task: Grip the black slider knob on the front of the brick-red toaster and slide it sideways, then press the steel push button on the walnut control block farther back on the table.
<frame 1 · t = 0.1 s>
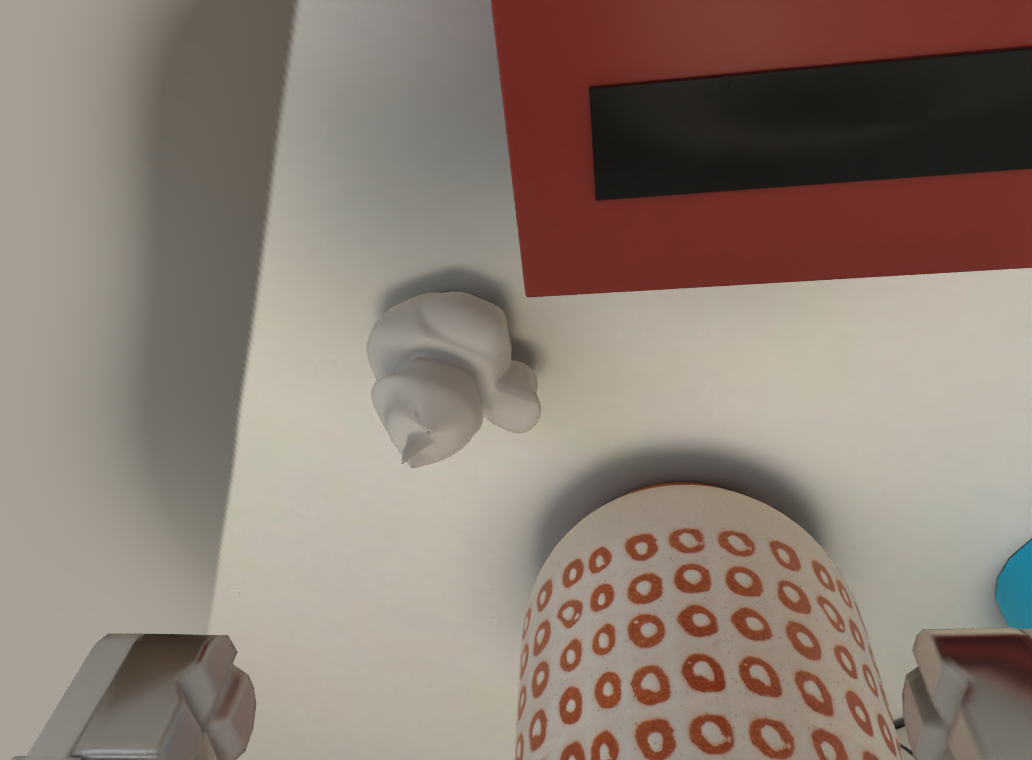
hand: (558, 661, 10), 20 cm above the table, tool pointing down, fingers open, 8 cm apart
rubber duck: (465, 333, 31), on the table
vase: (677, 549, 37), on the table
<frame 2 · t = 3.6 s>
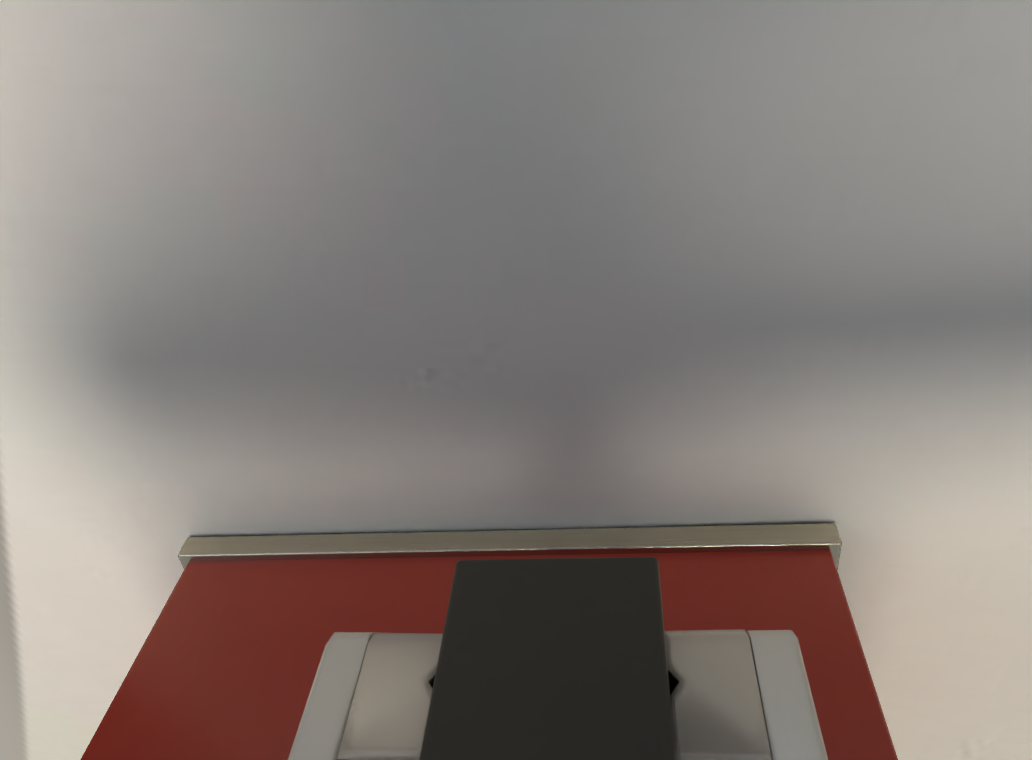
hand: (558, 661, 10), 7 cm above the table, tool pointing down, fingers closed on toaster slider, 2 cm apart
toaster: (520, 675, 21), on the table
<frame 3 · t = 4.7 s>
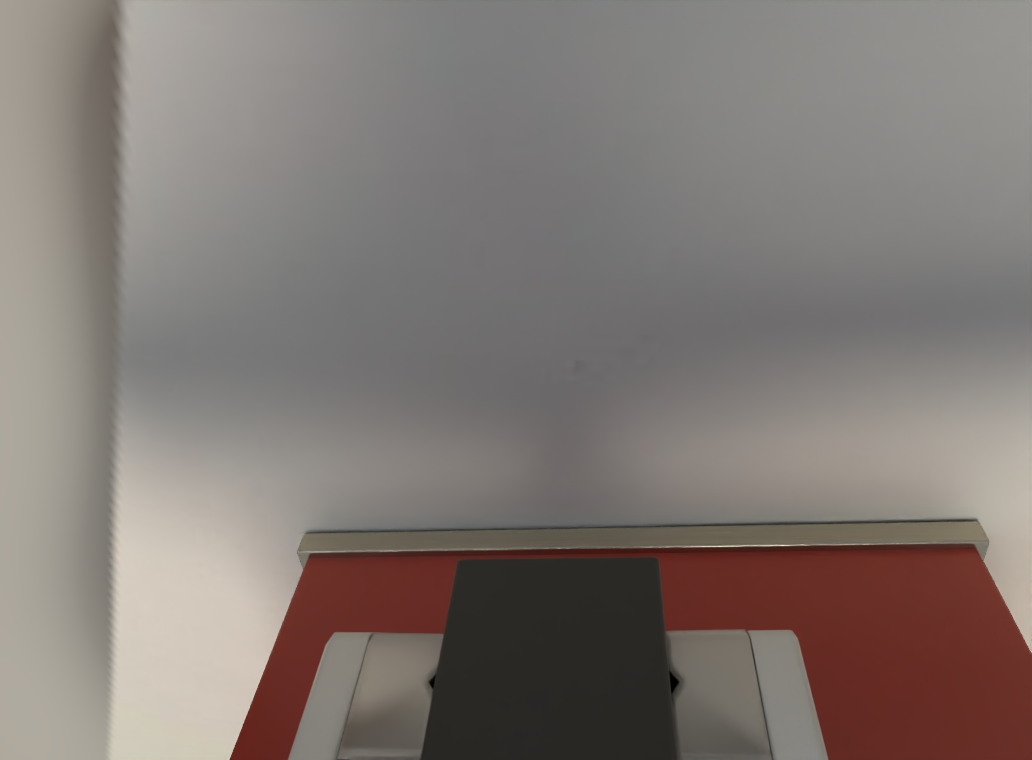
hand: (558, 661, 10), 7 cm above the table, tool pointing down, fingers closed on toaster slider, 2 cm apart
toaster: (630, 675, 20), on the table
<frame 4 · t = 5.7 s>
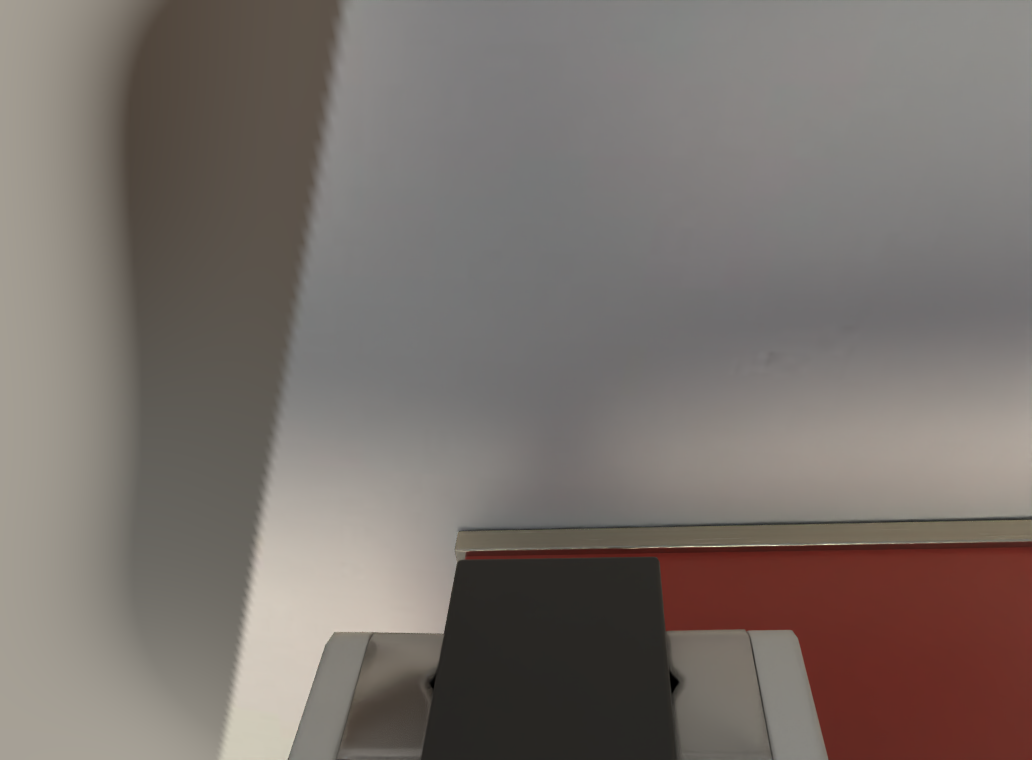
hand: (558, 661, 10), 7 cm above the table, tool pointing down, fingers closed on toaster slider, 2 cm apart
toaster: (776, 676, 20), on the table
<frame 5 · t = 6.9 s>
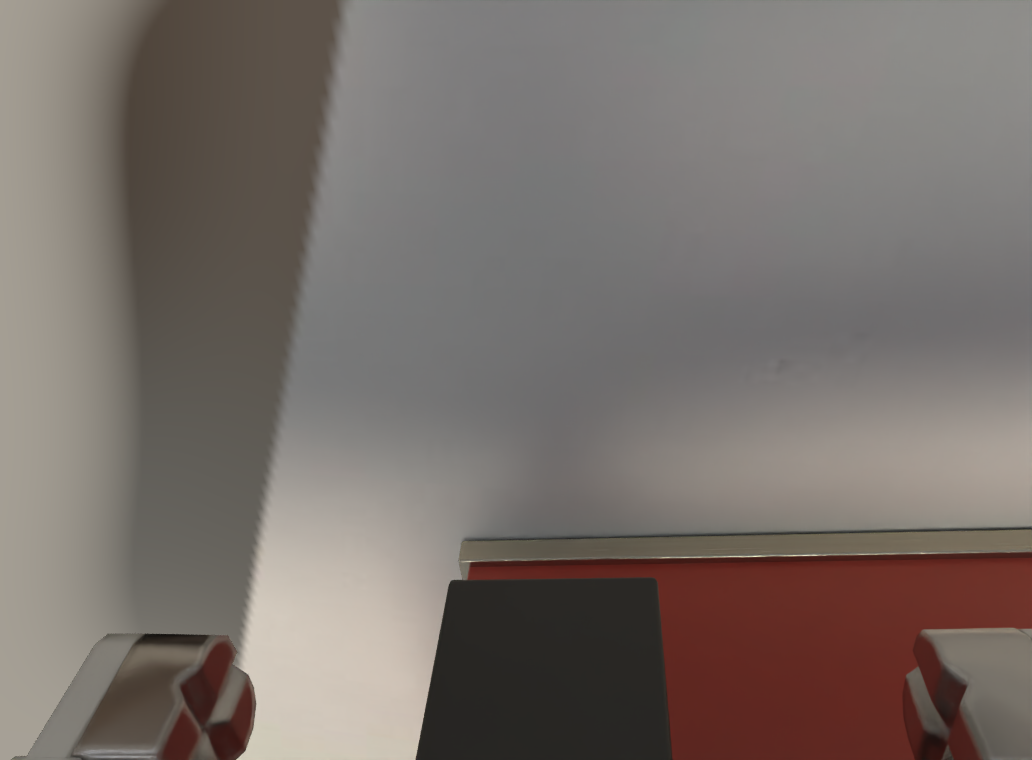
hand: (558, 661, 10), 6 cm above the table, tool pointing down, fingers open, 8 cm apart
toaster: (785, 686, 20), on the table
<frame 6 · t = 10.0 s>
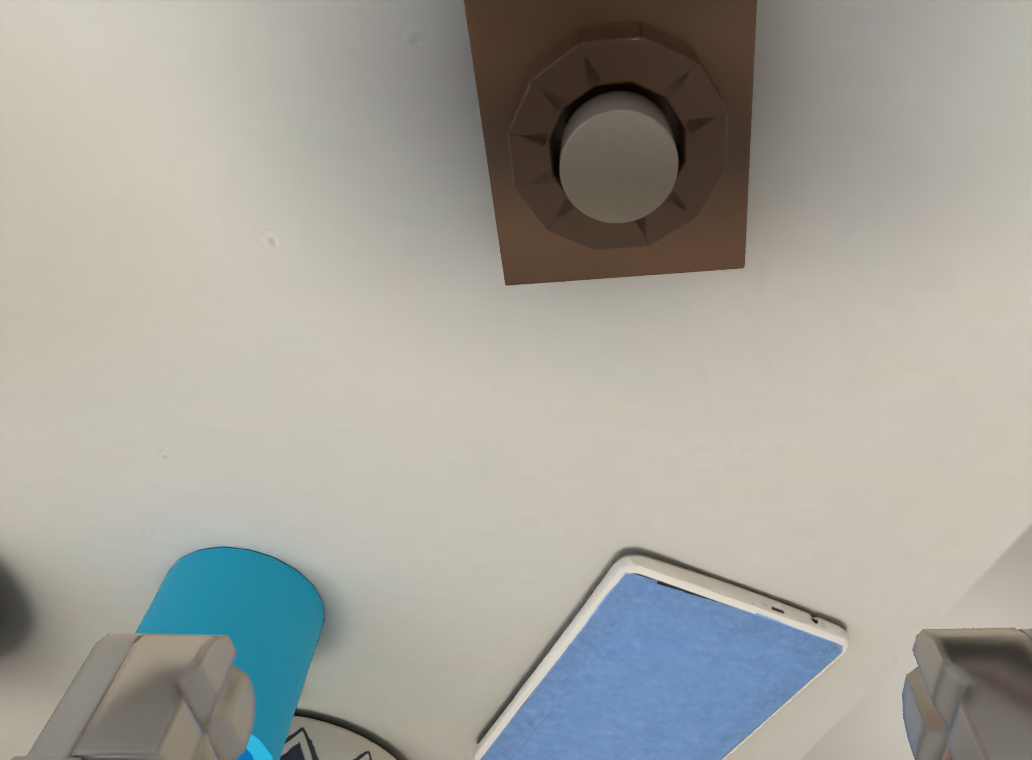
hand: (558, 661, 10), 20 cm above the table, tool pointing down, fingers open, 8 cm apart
mug: (256, 623, 43), on the table
button: (617, 157, 23), point 4 cm above the table, slide at 0.1 cm
control block: (613, 113, 26), on the table
tablet: (643, 687, 44), on the table
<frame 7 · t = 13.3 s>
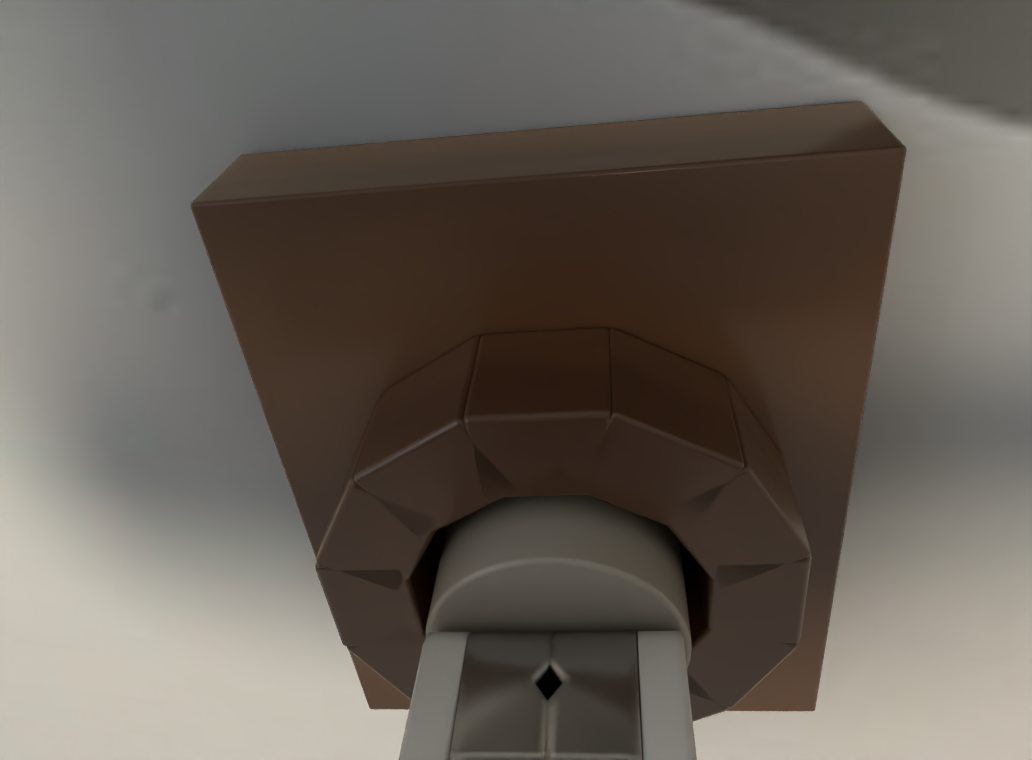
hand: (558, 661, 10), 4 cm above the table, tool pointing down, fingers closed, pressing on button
button: (559, 595, 10), point 3 cm above the table, slide at -0.6 cm, touching gripper
control block: (566, 434, 13), on the table
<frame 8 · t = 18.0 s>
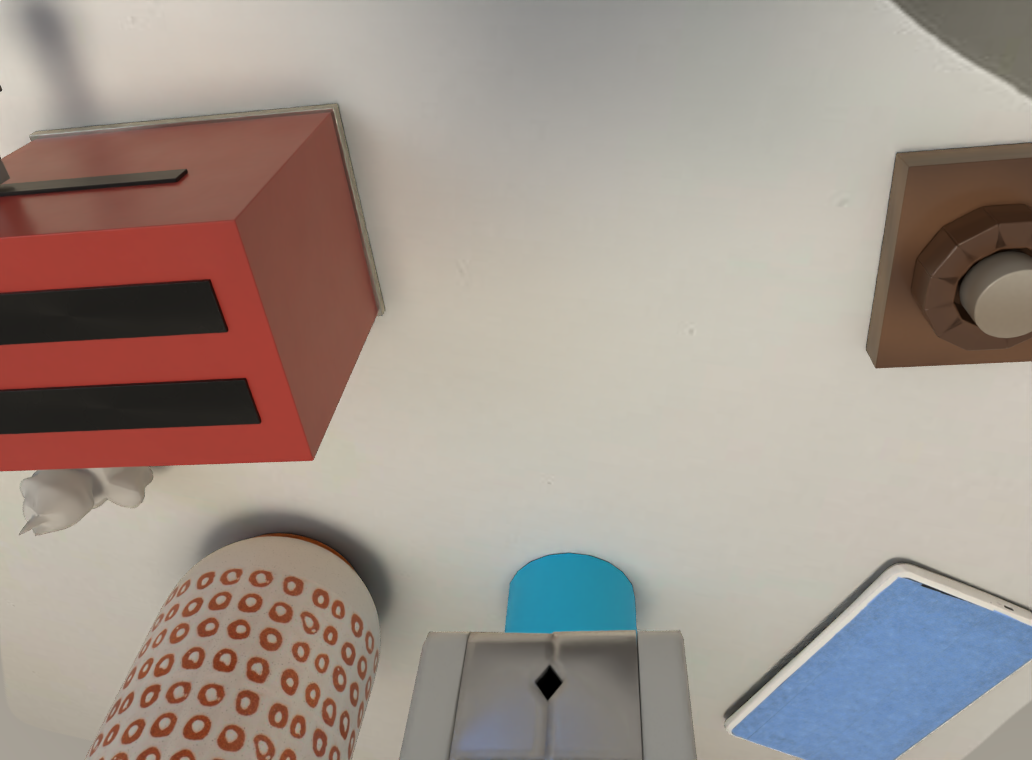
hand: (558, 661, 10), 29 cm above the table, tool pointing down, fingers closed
mug: (572, 614, 54), on the table
toaster: (219, 225, 39), on the table
rubber duck: (114, 440, 48), on the table
vase: (296, 577, 54), on the table
button: (1007, 294, 34), point 4 cm above the table, slide at 0.1 cm
control block: (971, 252, 37), on the table
tablet: (876, 670, 55), on the table
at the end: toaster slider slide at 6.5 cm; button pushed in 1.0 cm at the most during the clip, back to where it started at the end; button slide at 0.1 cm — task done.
